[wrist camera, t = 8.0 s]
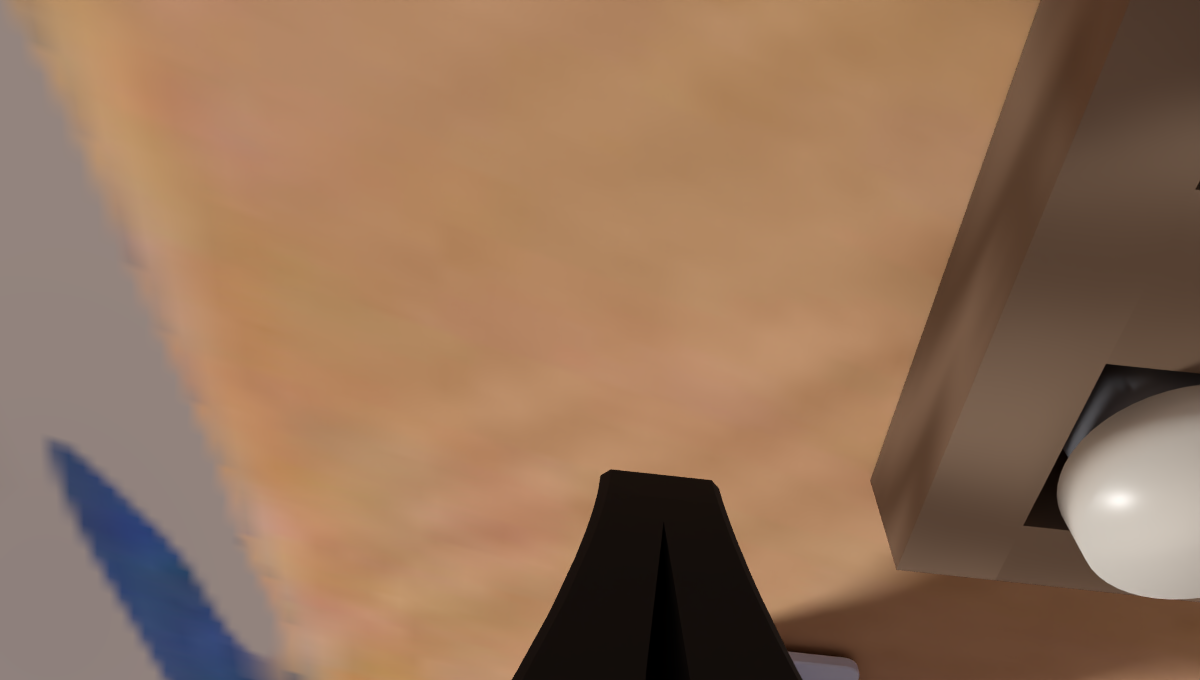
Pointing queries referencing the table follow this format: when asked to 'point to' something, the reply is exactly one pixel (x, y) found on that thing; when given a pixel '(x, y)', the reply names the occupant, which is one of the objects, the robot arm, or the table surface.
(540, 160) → the table surface
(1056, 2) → the knob mount
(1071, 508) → the knob
